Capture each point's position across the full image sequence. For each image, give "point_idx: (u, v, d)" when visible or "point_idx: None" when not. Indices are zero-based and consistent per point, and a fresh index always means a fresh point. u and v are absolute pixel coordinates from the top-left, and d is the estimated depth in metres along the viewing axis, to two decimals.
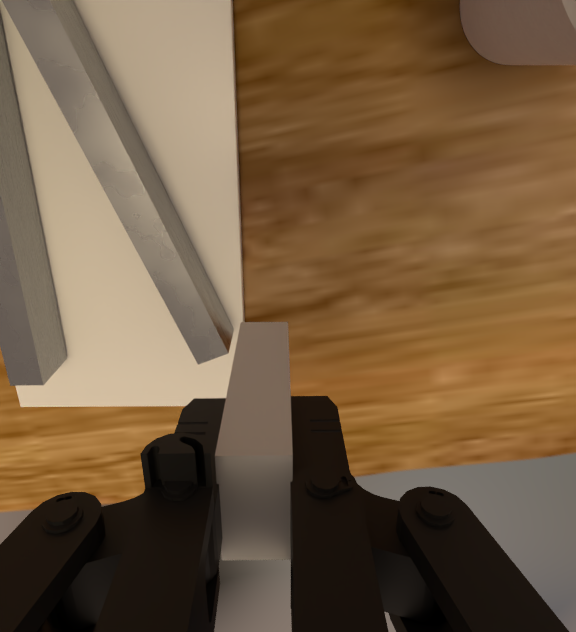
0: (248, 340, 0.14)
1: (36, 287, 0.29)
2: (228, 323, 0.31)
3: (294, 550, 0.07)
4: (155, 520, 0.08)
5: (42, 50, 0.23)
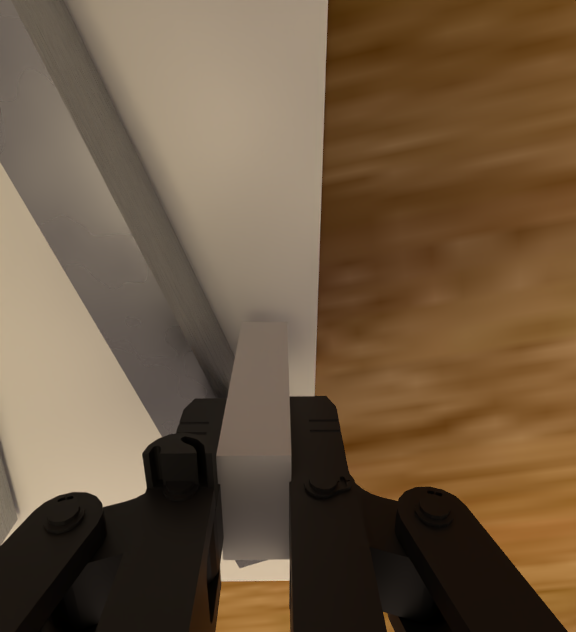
0: (249, 340, 0.14)
1: None
2: None
3: (293, 550, 0.07)
4: (156, 520, 0.08)
5: None
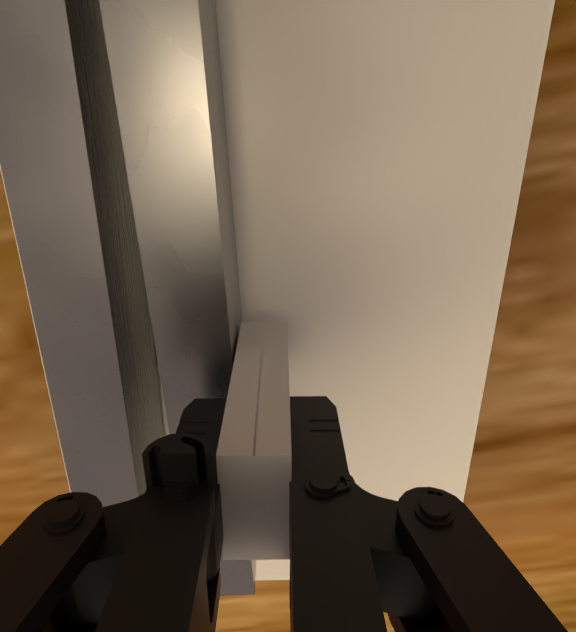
0: (249, 340, 0.14)
1: (145, 428, 0.16)
2: None
3: (293, 550, 0.07)
4: (156, 520, 0.08)
5: None
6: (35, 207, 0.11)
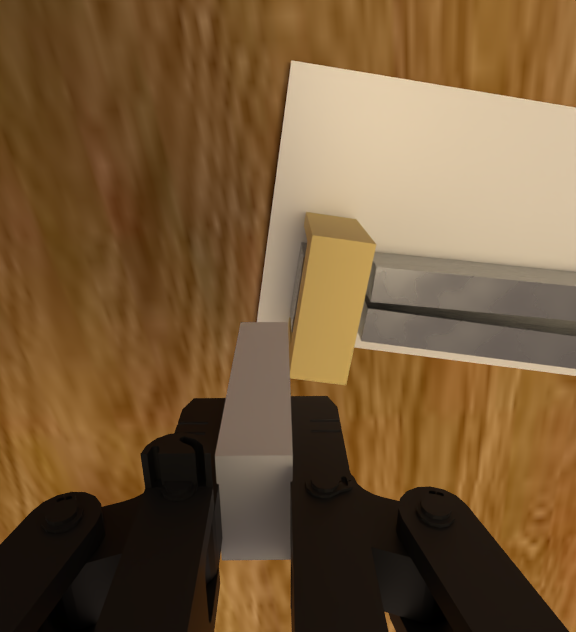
0: (248, 340, 0.14)
1: None
2: None
3: (294, 550, 0.07)
4: (155, 520, 0.08)
5: (486, 302, 0.27)
6: (547, 355, 0.28)
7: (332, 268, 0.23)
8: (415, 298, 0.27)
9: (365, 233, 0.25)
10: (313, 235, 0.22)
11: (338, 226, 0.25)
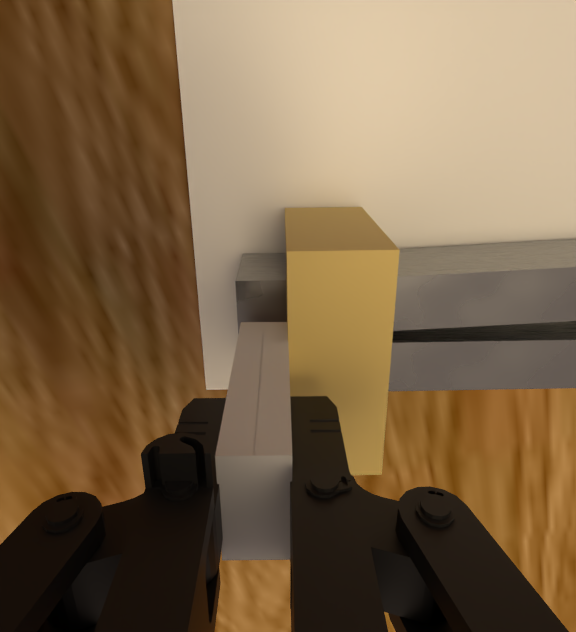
0: (248, 340, 0.14)
1: None
2: None
3: (294, 550, 0.07)
4: (155, 520, 0.08)
5: (536, 307, 0.17)
6: None
7: (330, 300, 0.13)
8: (422, 317, 0.17)
9: (378, 230, 0.15)
10: (288, 251, 0.13)
11: (333, 225, 0.16)
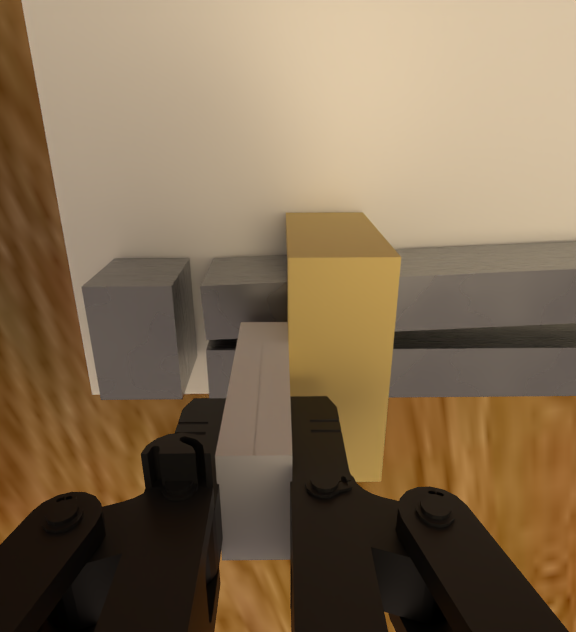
0: (248, 340, 0.14)
1: None
2: None
3: (294, 550, 0.07)
4: (155, 520, 0.08)
5: None
6: (504, 382, 0.18)
7: (332, 307, 0.13)
8: None
9: (379, 237, 0.15)
10: (290, 257, 0.13)
11: (334, 231, 0.16)
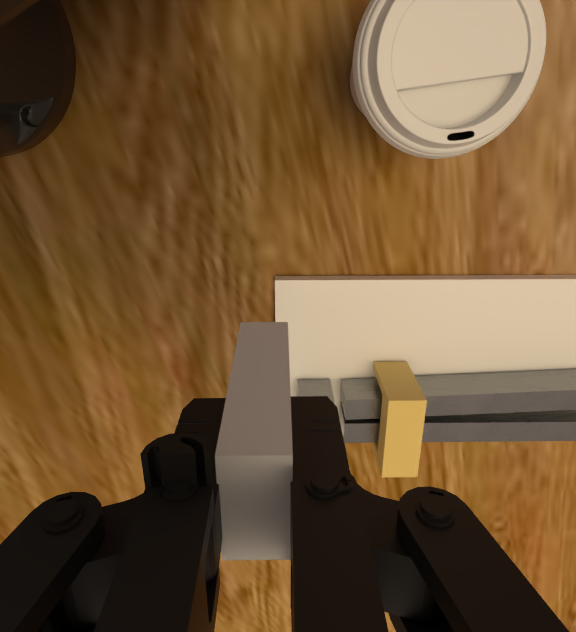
0: (248, 340, 0.14)
1: (543, 412, 0.44)
2: None
3: (294, 550, 0.07)
4: (155, 520, 0.08)
5: None
6: (466, 436, 0.43)
7: (402, 415, 0.38)
8: (373, 414, 0.42)
9: (417, 385, 0.40)
10: (389, 400, 0.38)
11: (399, 380, 0.41)
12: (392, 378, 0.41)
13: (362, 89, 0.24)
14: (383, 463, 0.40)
